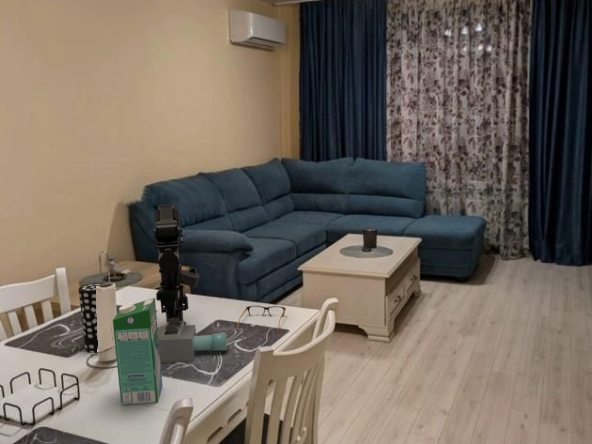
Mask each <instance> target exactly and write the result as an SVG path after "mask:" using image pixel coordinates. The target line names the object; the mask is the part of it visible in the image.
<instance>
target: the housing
mask: <svg viewBox="0 0 592 444" xmlns="http://www.w3.org/2000/svg"><path fill="white" fill-rule="evenodd" d="M184 322H185V321H184V320H183V321H180V324H179V325H177V332H175V333H166V326H168V325H169V322H166V325H165V326H157V327H158V338H159V350H160V361H161V364H162V363H163V364H164V363H179V362H181V363H182V362H194V358H195V355H196V351H194V348H193V336H197V328H196V324H185V325H184Z"/></svg>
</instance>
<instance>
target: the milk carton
mask: <svg viewBox="0 0 592 444" xmlns="http://www.w3.org/2000/svg"><path fill="white" fill-rule="evenodd" d="M157 317H158V316H157V305H156V297H153V298H152V297H151V298H149V299H145V300H143V301H140V302H137V303H136V302H135V303H134V302H129V303H126V304H124V305H121V306H120V307H119V308H118V311H117V313H116V315H115V316H114V318H113V319H112V325H113V326H112V327H113V337H114V345H115V348H114V349H115V356H116V366H117V368H116V369H117V376H118V387H119V395H120V405H121V404H123V405H122V406H128V405H127V404H132V405H143V403H146V404H156V403H158V402H159V399H160V395H161V392H162V389H163V375H162V374H163V373H162V365H161V364H162V363H161V361H160V350H159V338H158V327H159V326H158V318H157ZM125 404H126V405H125Z"/></svg>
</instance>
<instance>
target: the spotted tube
mask: <svg viewBox="0 0 592 444" xmlns="http://www.w3.org/2000/svg"><path fill="white" fill-rule="evenodd" d="M102 284H105V282H104V283H103V282H94V283H87V284H84V285H82V286H79V287H78V290H77V291H78V297H79V298H78V299H79V306H80V307H79V308H80V314H81V315H80V316H81V324H82V334H83V341H84V349H85V352H87V353H89V354H98V353H97V349H98V340H97V314H96V286H98V285H102Z"/></svg>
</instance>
